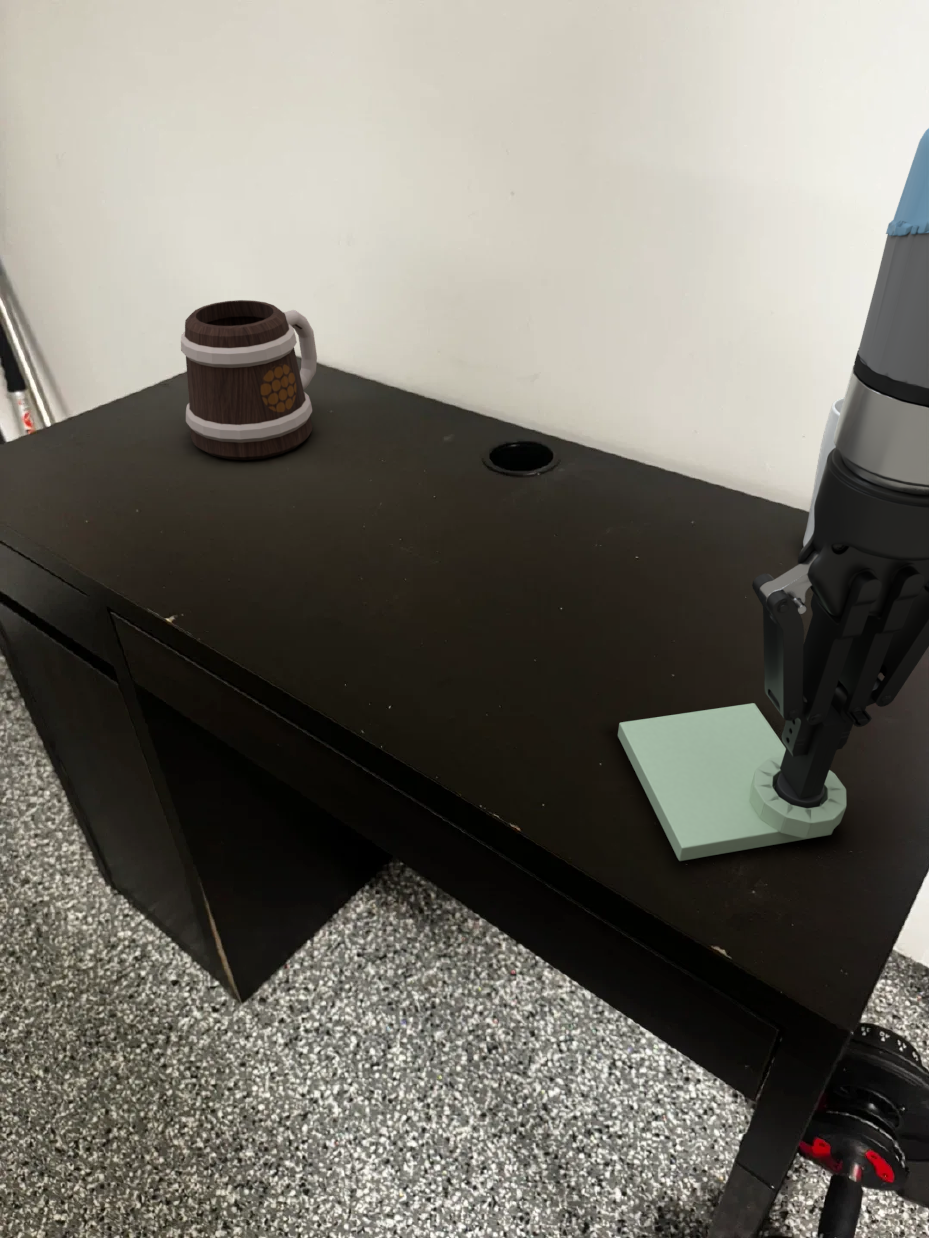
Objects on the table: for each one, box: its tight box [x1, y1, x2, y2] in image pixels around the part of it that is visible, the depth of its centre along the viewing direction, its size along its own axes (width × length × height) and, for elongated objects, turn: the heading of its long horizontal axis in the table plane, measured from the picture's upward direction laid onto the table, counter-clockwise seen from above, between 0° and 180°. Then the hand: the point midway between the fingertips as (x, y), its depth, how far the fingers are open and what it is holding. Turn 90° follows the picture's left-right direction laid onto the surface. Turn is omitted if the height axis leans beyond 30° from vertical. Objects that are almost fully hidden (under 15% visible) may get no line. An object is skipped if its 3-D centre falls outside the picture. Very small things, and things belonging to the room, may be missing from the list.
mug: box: [180, 299, 318, 461], centre depth 107 cm, size 20×15×15 cm
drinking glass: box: [802, 397, 844, 547], centre depth 84 cm, size 7×7×15 cm
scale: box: [617, 702, 847, 862], centre depth 63 cm, size 13×12×3 cm
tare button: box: [774, 772, 824, 809], centre depth 60 cm, size 3×3×2 cm
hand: (799, 781), depth 59 cm, fingers closed
